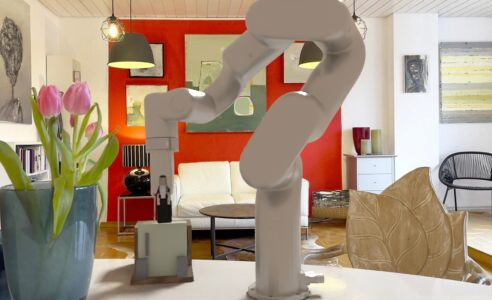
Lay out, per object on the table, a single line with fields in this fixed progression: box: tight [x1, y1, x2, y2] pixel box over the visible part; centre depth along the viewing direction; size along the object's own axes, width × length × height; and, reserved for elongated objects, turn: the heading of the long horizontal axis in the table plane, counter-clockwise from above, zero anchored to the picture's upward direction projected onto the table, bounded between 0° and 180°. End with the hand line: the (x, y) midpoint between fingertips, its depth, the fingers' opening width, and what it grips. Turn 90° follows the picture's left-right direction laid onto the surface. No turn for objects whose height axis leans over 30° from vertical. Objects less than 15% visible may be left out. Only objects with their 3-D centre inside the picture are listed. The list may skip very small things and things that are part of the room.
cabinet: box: [129, 218, 195, 286], centre depth 103 cm, size 14×20×11 cm
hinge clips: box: [136, 256, 188, 280], centre depth 97 cm, size 11×6×4 cm, turn 100°
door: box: [138, 221, 187, 277], centre depth 96 cm, size 11×3×12 cm, turn 100°
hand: (165, 219), depth 96 cm, fingers open, 9 cm apart
